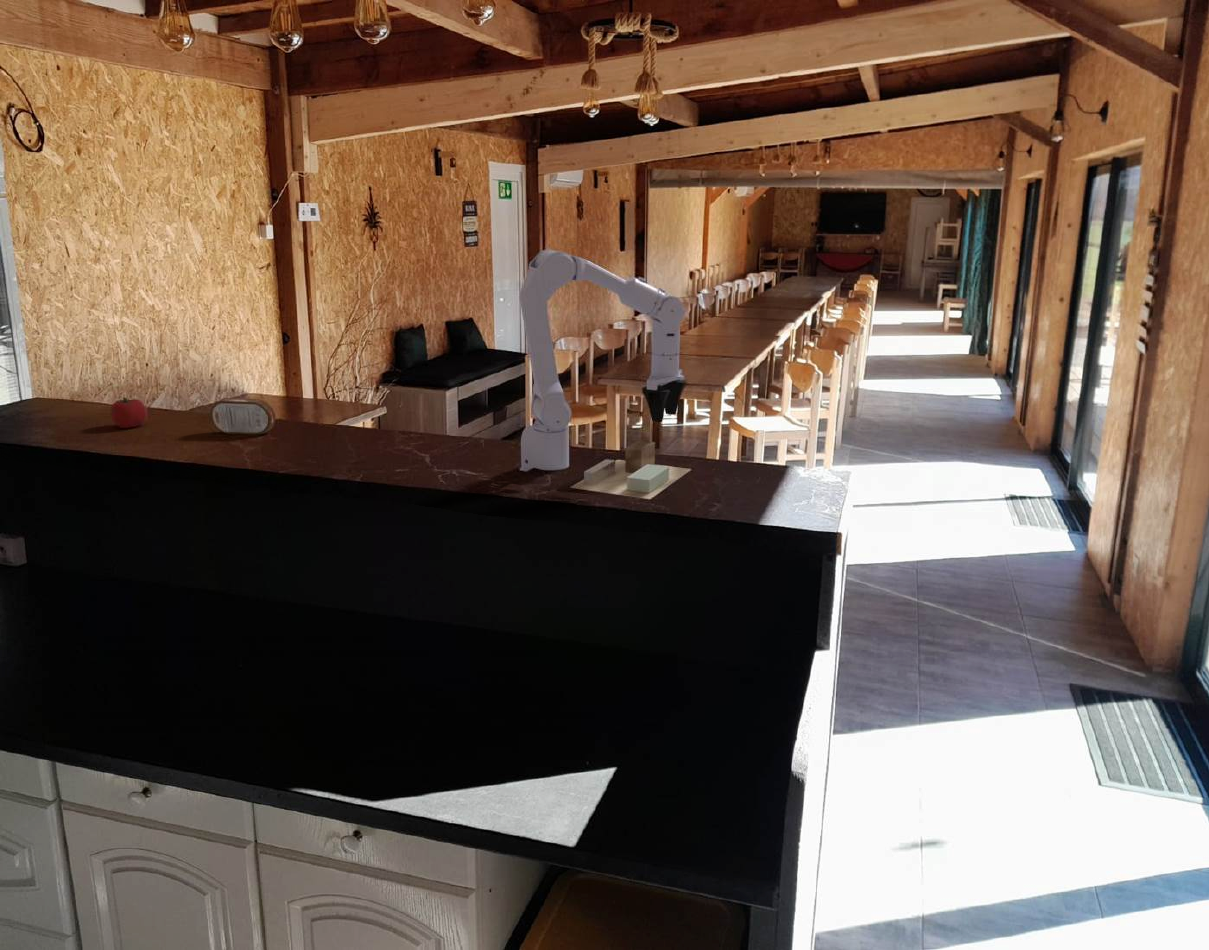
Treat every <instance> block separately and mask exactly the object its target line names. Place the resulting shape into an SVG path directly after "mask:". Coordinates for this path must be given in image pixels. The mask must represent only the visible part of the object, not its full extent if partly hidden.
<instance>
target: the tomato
mask: <svg viewBox="0 0 1209 950" xmlns="http://www.w3.org/2000/svg"><path fill="white" fill-rule="evenodd" d="M148 412H149V411H148V409H147V406H146V405H145V404H144V403H143V402H142V401H141V400H139V399H136V398H135V399H127V397H123V399H120V400H115V402H114V403H112V406H111V408H110V416H111V420H112V421H113V422H114V423H115V425H117V426H118V427H119V428H121V429H130V428H136V427H140V426H143V425H144V424H145V423H146V421H147V419H148Z"/></svg>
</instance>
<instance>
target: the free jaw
mask: <svg viewBox="0 0 1209 950" xmlns="http://www.w3.org/2000/svg"><path fill="white" fill-rule="evenodd" d="M657 465H658V464H655V465H650V464H647V465H646V466H644V467H642V468H641V469H639V470H638V471H636V472H634V473H633V474H631V475H630V476H628V477H627V490H631V491H638V492H645V493H650V492H652V491H653V490H654V489H656V488H657V487H659V486H660V485H662V484H663V483H664V482H666V481H667V480H669V467H665V466H666V465H663V466H657Z"/></svg>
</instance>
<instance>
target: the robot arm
mask: <svg viewBox="0 0 1209 950" xmlns="http://www.w3.org/2000/svg"><path fill="white" fill-rule="evenodd" d="M527 270H528V271H527V273H526V276H525V279H524V281H523V284H522V287H521V289H520V290H519V291H520V292H519V302H520V307H521V313H522V321H523V326H524V332H525V337H526V338H525V339H526V342H527V349H528V353H529V354H528V355H529V359H530V366H531V373H532V378H533V386H532V394H533V397H532V400H531V401H532V402H531V403H530V404H531V406H530V408H531V409H530V410H531V412H532V413H531V414H532V415H533V416H534V418H535V421H534V422H533V425H527V426H526V427H525V428H524V429H523V431H522V434H521V438H520V462H521V463H520V464H521V467H519V471H520V472H521V471H522V472H528V471H531V470H532V469H534V468H535V469H538V470H542V471H561V470H564V469H567V468H569V467H570V441H569V440H570V435H569V434H570V433H569V432H570V427H569V426H570V425H569V424H570V422H571V419H572V414H573V413H572V409H571V406H570V405H569V404H568V402H567V401H566V398H565V394H564V390H563V388H562V386H561V382H560V379H559V374H558V373H559V372H558V367H557V361H556V355H555V350H554V349H555V347H554V342H553V337H552V330H551V326H550V320H549V313H548V307H547V306H548V305H547V303H548V301H549V300H550V299H551V298H552V296H554V294H555V293H556V292H557V291H558V290H559V289H561V288H562V287H564V286H566V285H567V284H569V283H570V282H571V281H575V282H579V281H585V280H586V281H588V282H590V283H592V284H595V285H597V286H599V287H600V288H603V289H605V290H608V291H610V292H613V294H617V295H618V298H619V302H620V303H621V304H622V305H624V306H626V307H628V308H630V309H632V310H635V311H636V312H639V313H640V314H643V315H645V316H647V317H650V319H652V329H651V330H652V331H651V372H650V375H649V377H648V379H646V386H643V387H642V388H641V389H642V391H641V392H642V394H643V397H644V398H645V400H646V403H647V406H648V410H649V414H650V419H651V421H652V422H655V423H662V422H663V419H664V415H665V414H666V415H673V416H675V415H676V414H677V411H678V407H679V403H680V400H681V397H682V395H683V394H682V393H683V391H684V390H685V387H686V386H687V380H685V375H683V370H682V369H680V347H681V346H680V345H681V344H680V343H681V340H680V339H681V331H680V330H681V322H682V321H683V319H684V318H685V315H686V310H685V309H684V304H683V302H682V300H680V299H679V298H678V297H676V296H673V295H670V294H667V293H666V290H665V289H664V288H661V287H660V288H656V287H654V286H652V285H651V284H648V283H646V281H647V280H646V279H645V278H643V277H640V276H638V277H634V276H632V277H630V278H627V279H623V278H622V277H620V276H618V275H616V274H614V273H613V272H610V271H608V270H606V269H604V268H603V267H601V266H599V265H597V264H595V263H593V262H592V261H590V260H587V259H585V258H582V257H580V256H579V257H578V256H575V255H571V254H569V253H567V252H565V251H557V250H555V249H551V248H549V249H548V248H547V249H544V250H541V251H539V253H537V254H536V255H535V257H534V258H533V259H532V260H530V262H529V264H528V269H527Z"/></svg>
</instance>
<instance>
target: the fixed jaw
mask: <svg viewBox="0 0 1209 950" xmlns="http://www.w3.org/2000/svg"><path fill="white" fill-rule="evenodd" d="M615 461H616V460H615V459H608V458H607V459H606V458H605V459H604V460H603V461H601V462H599V463H597V464H595V465H594V466H592V467H590V468H588V469H586V470H585V471H584V472H583V480H584V484H586V485H593V486H594V485H595V484H597V483H599V482H600V481H602V480H604V479H605V478H607V477H608V476H610V475H612V474H613V473H615Z"/></svg>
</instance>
